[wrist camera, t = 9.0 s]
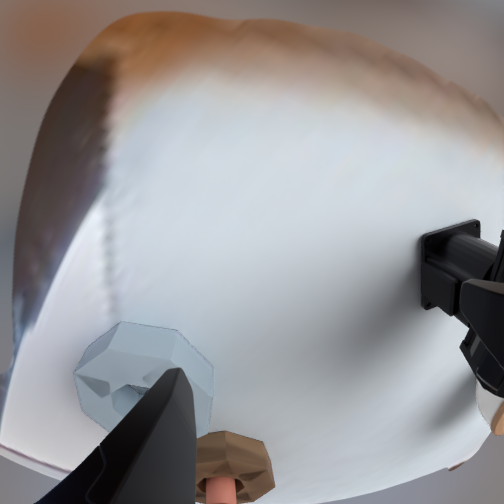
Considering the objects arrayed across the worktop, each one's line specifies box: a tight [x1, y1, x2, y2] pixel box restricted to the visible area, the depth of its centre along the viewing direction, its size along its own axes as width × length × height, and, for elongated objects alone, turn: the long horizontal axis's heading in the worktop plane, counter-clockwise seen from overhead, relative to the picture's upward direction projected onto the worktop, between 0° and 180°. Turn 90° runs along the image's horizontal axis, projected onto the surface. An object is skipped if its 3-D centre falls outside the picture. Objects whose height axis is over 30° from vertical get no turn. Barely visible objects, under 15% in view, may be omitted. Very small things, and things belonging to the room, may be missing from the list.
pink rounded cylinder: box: [206, 476, 237, 504], centre depth 23 cm, size 3×3×7 cm
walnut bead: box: [195, 431, 275, 504], centre depth 25 cm, size 10×10×4 cm
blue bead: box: [74, 321, 213, 438], centre depth 21 cm, size 10×10×4 cm
